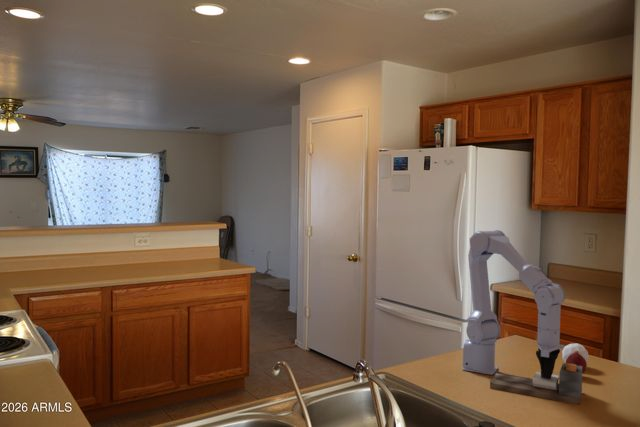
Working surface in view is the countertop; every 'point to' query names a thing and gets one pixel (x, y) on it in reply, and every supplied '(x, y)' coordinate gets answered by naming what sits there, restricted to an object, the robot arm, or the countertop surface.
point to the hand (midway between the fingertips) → (547, 376)
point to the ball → (572, 348)
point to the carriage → (545, 381)
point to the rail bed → (565, 392)
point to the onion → (577, 360)
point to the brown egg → (571, 367)
